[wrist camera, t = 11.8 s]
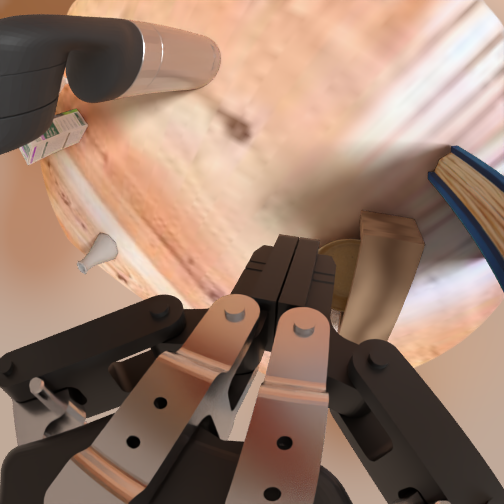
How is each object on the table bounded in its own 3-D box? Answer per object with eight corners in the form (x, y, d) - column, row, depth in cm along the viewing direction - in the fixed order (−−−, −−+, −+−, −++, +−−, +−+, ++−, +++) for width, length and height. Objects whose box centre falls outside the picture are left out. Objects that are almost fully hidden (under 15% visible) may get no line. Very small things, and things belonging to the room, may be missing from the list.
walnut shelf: (339, 316, 50) (335, 346, 44) (361, 210, 38) (363, 234, 32) (380, 322, 48) (381, 352, 42) (414, 219, 36) (425, 244, 30)
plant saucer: (324, 309, 51) (323, 319, 49) (293, 246, 46) (290, 254, 44) (399, 291, 43) (401, 301, 41) (378, 219, 38) (380, 227, 36)
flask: (98, 227, 59) (69, 249, 51) (119, 241, 59) (91, 264, 51) (98, 249, 64) (73, 270, 56) (118, 262, 63) (93, 286, 55)
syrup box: (89, 125, 44) (32, 145, 33) (79, 143, 48) (26, 166, 36) (77, 108, 43) (21, 125, 31) (68, 126, 46) (16, 146, 35)
